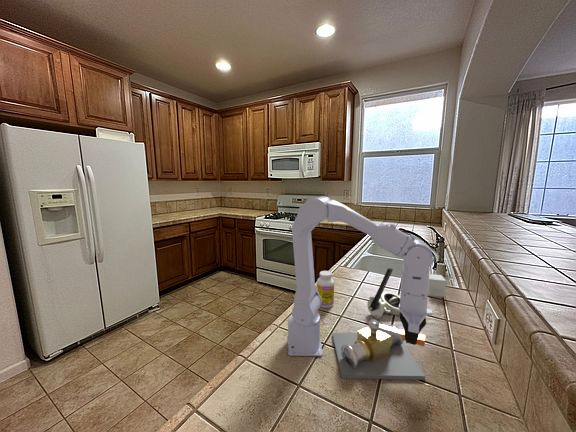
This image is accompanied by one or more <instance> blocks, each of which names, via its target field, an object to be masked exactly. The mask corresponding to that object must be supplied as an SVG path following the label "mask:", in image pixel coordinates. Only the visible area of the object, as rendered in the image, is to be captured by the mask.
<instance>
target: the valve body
mask: <svg viewBox="0 0 576 432" xmlns="http://www.w3.org/2000/svg"><path fill="white" fill-rule="evenodd" d="M388 326H389V327H392V328H396V329H399V330H401V329H400V328H399V327H398V326H396V324H389V325H388ZM356 333H357V341H355V343H354V345H351V346H350V345H348V344H345V345H343V346H342V347H341V354H342V358H343V359H344V360H345V361H346V362H347V363H348V364H349V365H350V366H351V367H352V368H353V369H354V368H356V367H357V366H358V362H360V361H362V360H364V361H367V360H369V359H370V360H371V361H372V362H373V363H374V362H376V361H378V360H380V359H382V358H384V357H386V356H388V355H389V354H390V349H391V348H392V345H394V344H397V345H398V346H400V345H402V344H403V343H405V341H404V340H402V338H401V337H398V336H395V335H392V334H388V333H385V332H382V331H379V330H378V331H372V330H370V329H369V327H368V326H366V327H363V328H361V329H359V330H358V329H357V331H356Z"/></svg>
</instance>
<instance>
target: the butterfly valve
mask: <svg viewBox="0 0 576 432" xmlns="http://www.w3.org/2000/svg"><path fill="white" fill-rule="evenodd" d="M392 273H393V268H391V267H390V268H387V269H386V272H385V274H384V276H383V278H382V280H381V283H380V285H379V287H378V289H377V291H376V293H375V296H370V297H368V301H367V304H366V305H367V309H368V312H369V313H370V315H371V316H373V318H374V320H379V319H381V318H382V316H383V315H384V313H386V314H390V315H394V316H399V315H400V310H399V304H400V295H399V294H397V293H393V292H388V291H384V289H385V288H386V286H387V283H388V281H389V280H390V277H391V275H392Z"/></svg>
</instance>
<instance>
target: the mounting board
mask: <svg viewBox="0 0 576 432" xmlns="http://www.w3.org/2000/svg"><path fill="white" fill-rule="evenodd" d="M332 339H333V341H332V342H333V343H334V344H333V345H334V349H335V355H336V358H337V362H338V367H339V371H340V377H341V379H358V380H359V379H362V380H363V379H364V380H365V379H367V380H371V379H372V380H374V379H375V380H419V381H420V380H423V381H424V380H426V375H425V374H424V371H423V370H422V369H421V367H420V366H419V364H418V363H417V361H416V359H415V358H414V357H413V355H412V353H411V352H410V350H409V349H408V347H407V346H406V344H405V342H403V344H402V345H400V346H398V345H397V344H394V345H392V348H391V349H390V354H389V355H388V356H386V357H384V358H382V359H380V360H378V361H376V362H374V363H373V362H372V361H371V360H370V359H369V360H367V361H364V360H362V361H360V362H358V366H357V367H356V368H354V369H353V368H352V367H351V366H350V365H349V364H348V363H347V362H346V361H345V360H344V359H343V358H342V354H341V347H342V346H343V345H345V344H348V345H350V346H351V345H354V343H355V341H357V332H332Z"/></svg>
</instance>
